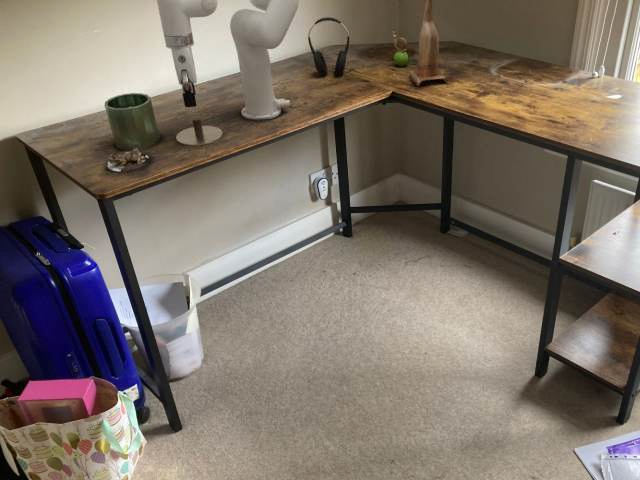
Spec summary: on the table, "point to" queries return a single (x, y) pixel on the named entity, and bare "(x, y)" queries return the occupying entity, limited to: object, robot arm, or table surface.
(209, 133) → the lid
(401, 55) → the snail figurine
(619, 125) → the table surface
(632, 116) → the table surface
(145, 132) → the pot
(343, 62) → the headphones
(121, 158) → the frog figurine
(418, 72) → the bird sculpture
